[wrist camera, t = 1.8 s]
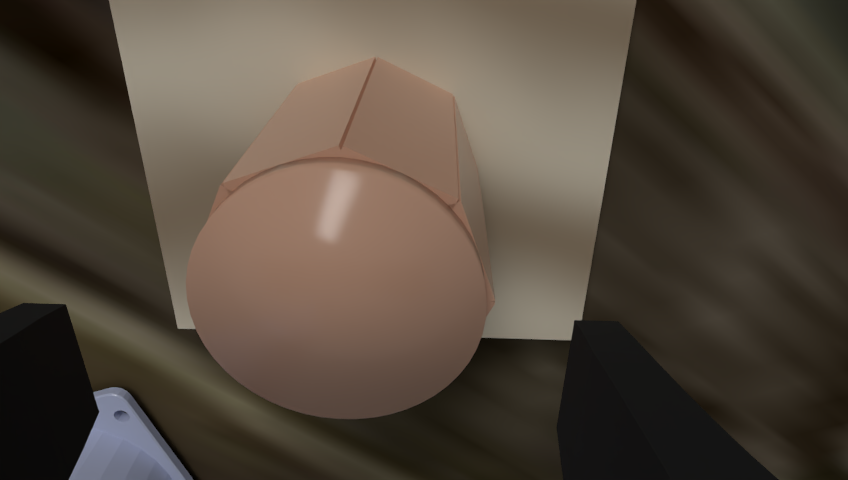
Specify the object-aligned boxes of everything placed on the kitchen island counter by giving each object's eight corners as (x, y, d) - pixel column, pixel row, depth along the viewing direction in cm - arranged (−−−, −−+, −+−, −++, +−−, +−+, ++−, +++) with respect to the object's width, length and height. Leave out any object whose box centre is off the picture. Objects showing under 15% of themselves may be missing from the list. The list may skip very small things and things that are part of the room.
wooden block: (494, 218, 17) (520, 383, 11) (322, 267, 18) (267, 443, 12) (435, 36, 15) (431, 126, 9) (242, 102, 16) (127, 223, 10)
